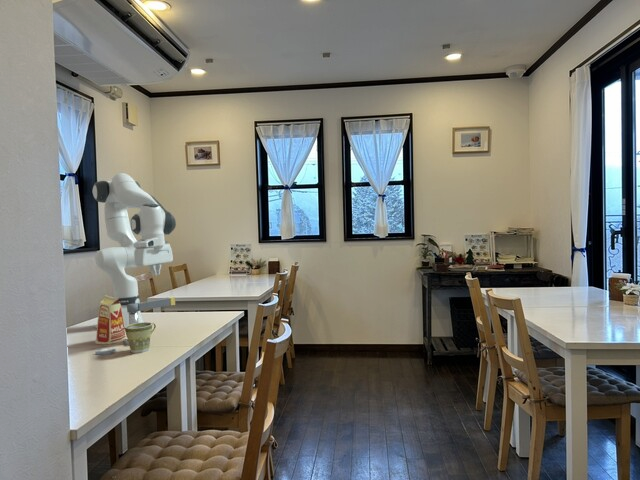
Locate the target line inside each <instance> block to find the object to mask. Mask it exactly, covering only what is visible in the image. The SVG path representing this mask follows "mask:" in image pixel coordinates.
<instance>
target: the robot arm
mask: <svg viewBox="0 0 640 480" xmlns="http://www.w3.org/2000/svg"><path fill="white" fill-rule="evenodd" d="M92 195H93V198H94V200H95V201H96V202H98V203H102V204H104V210H103V211H104V215H103V216H104V222H105V229H106V233H107V234H106V235H107V237H108V238H109V239H110V240H112V241H115V242H117V243H118V244H119V245H120V246H114V247H112V246H111V247H105V248H103V249H100V250H98V251H97V252H96V253H95V258H94V261H95V264H96V266H97V267H98V268H99V269H100V270H101V271H103V272H104V273H106V274H107V275H108V276H109V279H110V280H111V282H112V288H113V295H114V298H119V299H118V301H119V302H120V304H121V309H122V313H123V319H124V325H125V326H127V325H129V313H128V312H127V305H128V304H134V303H140V302H141V299H140V294H139V288H138V287H139V286H138V280H137V278H136V277H134V276H132V275H130V274H127V273H126V271H125V269H132V268H139V267H147V266H148V267H149V269H150V271H151V275H152V276H158V275H161V269H162V264H167V263H172V262H173V260H174V256H173V249H172V246H171V244H170V243H169V241H166V240H165V239H166V238H165V235H170V234H171V233H172V232H173V231H174V230H175V228H176V225H177V224H176V223H177V222H176V218H175V216H174V215H173V214H172V213H171V212H169V211H167V209H165V208H164V207H163V205H162V204H161V203H160V202H159V201H158V200H157V198H155V197H154V196H153V195H151V194H150V193H148V192H146V191H145V190H143V189H142V188H141V185H140V183H139V182H138V181H135V179H134V178H133V177H132V176H131V175H129V174H127V173H123V172H121V173H117V174H115V175H114V176H113V177H112V179H111V180H99V181H96V182H95V183H94V184H93V187H92ZM129 208H130V209H139V212H138V213H136V214H134V215H132V217H131V218H130V219H129V213H128V209H129ZM133 233H134V234H135V235H137V236H138V235H139V236H141V238H140V239H139V240H137V239H136V237H135V236H134V234H133ZM141 312H142V311H138V322H139V323H143V322H145V321H144V318H143V316H142V313H141ZM95 328H96V329H97V324H95Z"/></svg>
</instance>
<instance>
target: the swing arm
mask: <svg viewBox="0 0 640 480" xmlns="http://www.w3.org/2000/svg"><path fill="white" fill-rule="evenodd" d="M175 299H176V298H175V297H173V296H169V297H165V298H159V299H153V300H147V301H140V303H134V304H128V305H127V312H128V313H132V312H138V311H141V312H143V311H147V310H151V309H152V310H153V309H157V308H163V307H168V306H176V300H175Z"/></svg>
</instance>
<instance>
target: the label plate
mask: <svg viewBox="0 0 640 480" xmlns="http://www.w3.org/2000/svg"><path fill="white" fill-rule="evenodd" d="M116 352H117V348H101V349H99V350H96V351H95V355H112V354H114V353H116Z"/></svg>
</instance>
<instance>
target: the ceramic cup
mask: <svg viewBox="0 0 640 480" xmlns="http://www.w3.org/2000/svg"><path fill="white" fill-rule="evenodd" d="M153 325H154V327H153ZM155 330H156V323H155V322H148V321H147V322H145V321H144V322H143V323H134V324H130V325H127V326H125V332H126V339H128V342H129V346H128V347H129V350H130V352H131V353H133V354H139V353H140V354H141V353H145V352H148V351H149V350H150V346H151V345H150V344H151V335H152V333H154V331H155Z"/></svg>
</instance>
